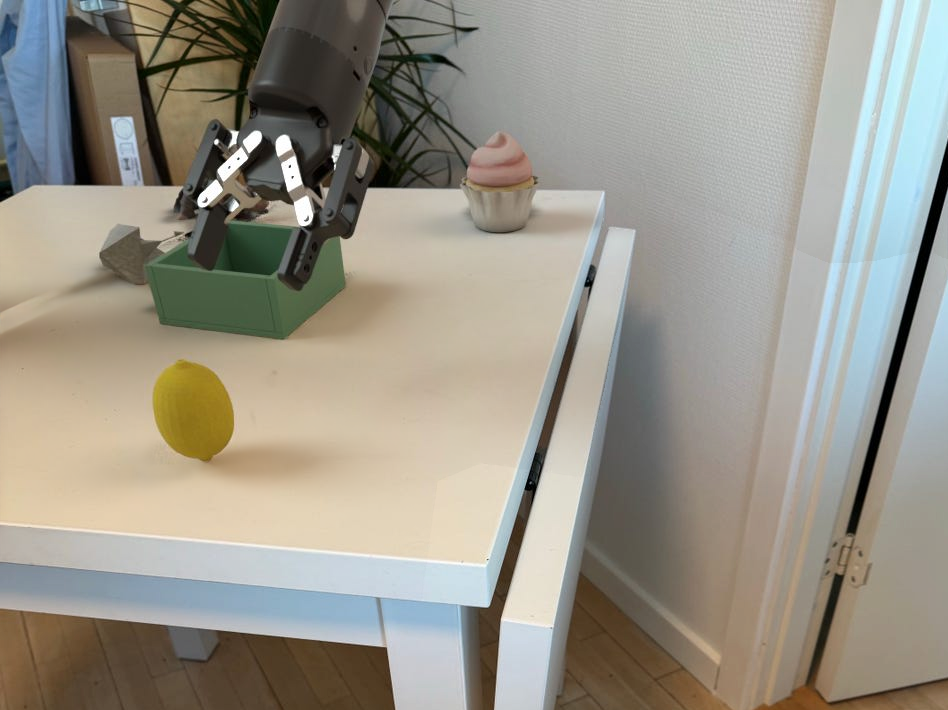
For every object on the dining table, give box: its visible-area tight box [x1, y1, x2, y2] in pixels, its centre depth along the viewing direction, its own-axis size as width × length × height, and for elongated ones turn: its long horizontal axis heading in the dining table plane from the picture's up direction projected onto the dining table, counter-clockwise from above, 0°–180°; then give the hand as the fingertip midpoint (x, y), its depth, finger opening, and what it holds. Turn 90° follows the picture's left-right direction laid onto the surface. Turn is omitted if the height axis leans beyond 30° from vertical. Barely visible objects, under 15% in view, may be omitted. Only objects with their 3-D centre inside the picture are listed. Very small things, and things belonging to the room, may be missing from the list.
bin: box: [145, 221, 347, 340], centre depth 89 cm, size 14×14×6 cm
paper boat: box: [98, 223, 185, 286], centre depth 95 cm, size 12×6×9 cm
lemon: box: [152, 358, 235, 463], centre depth 66 cm, size 6×6×8 cm
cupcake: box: [459, 130, 541, 233], centre depth 104 cm, size 9×9×10 cm
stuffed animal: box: [173, 174, 270, 239], centre depth 110 cm, size 12×10×12 cm
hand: (243, 275), depth 65 cm, fingers open, 8 cm apart
